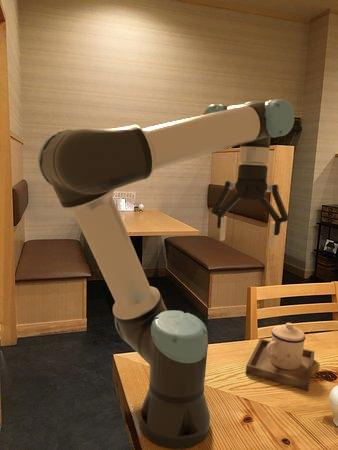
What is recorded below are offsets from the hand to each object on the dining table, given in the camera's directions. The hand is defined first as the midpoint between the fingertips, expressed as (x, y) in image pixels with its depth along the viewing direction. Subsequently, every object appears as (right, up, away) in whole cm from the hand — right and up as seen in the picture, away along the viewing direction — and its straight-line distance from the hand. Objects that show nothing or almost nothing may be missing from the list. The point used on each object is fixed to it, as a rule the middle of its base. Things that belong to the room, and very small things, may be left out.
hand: (246, 243), depth 102 cm
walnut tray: (+11, -35, +5) cm, 37 cm away
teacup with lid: (+11, -34, +4) cm, 36 cm away
